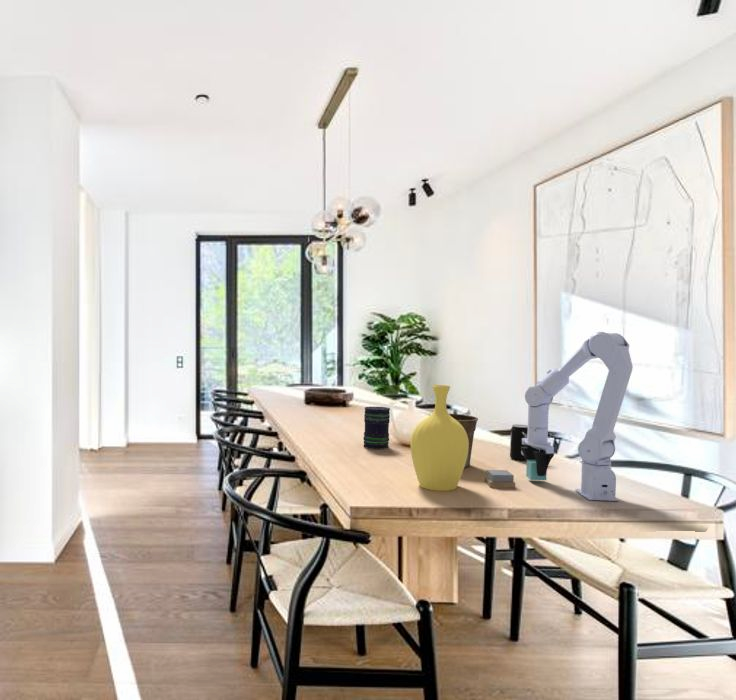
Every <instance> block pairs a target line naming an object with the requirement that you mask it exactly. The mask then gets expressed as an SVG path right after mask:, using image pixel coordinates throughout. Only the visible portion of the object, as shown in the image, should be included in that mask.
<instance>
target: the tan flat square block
mask: <svg viewBox="0 0 736 700" xmlns="http://www.w3.org/2000/svg"><path fill="white" fill-rule="evenodd" d="M484 482H485V483H486V485H487V486H488V487H489V488H493V489H494V488H495V489H516V482H515V481H513V482H492V481H491V480H490V479H488V478H487V477H486V475H485V476H484Z"/></svg>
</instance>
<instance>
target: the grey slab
mask: <svg viewBox="0 0 736 700" xmlns="http://www.w3.org/2000/svg"><path fill="white" fill-rule="evenodd" d="M485 476H486V477H487V478H488V479H490V480H491V481H492V482H514V476H515V475H514V474H513V473H511V472H510V471H508V470H507V469H486V475H485Z"/></svg>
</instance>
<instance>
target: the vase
mask: <svg viewBox="0 0 736 700" xmlns="http://www.w3.org/2000/svg"><path fill="white" fill-rule="evenodd" d="M432 389H433V392H434V394H435V404H434V405H435V406H434V410H433V412H432V413H430V414H431V415H430V414H429V415H428V416H426V417H424V418H423V419H422V420H421V421H419V423H418V424H417V425H416V426H415V428H414V429H413V432H412V433H411V437H410V453H411V459H412V463H413V467H414V472H415V475H416V479H417V482H418V484H419V486H420V487H421V488H422V489H426V490H429V491H437V492H438V491H439V492H449V491H454V490H456V489H457V487H458V484H459V482H460V480H461V477H462V475H463V472H464V469H465V468H464V467H465V463H466V460H467V456H468V450H469V441H468V436H467V433H466V431H465V429H464V428H463V426H462V425H461V424H460V423H459V422H458V421H456V420H455V419H454V418H453V417H451V416H450V415H449V414H450V413H449V412H448V410H447V409H448V408H447V398H448V394H449V392H450V390H451V386H450V385H442V384H434V385H432Z"/></svg>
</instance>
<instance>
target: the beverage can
mask: <svg viewBox="0 0 736 700" xmlns="http://www.w3.org/2000/svg"><path fill="white" fill-rule="evenodd" d="M527 434H528V424H527V425H526V424H512V425H511V428H510V446H509V457H510V459H511V460H513V459H514V460H513V461H517V460H519V461H518V462H526V461H525V457H524V454H523V452H522V450H521V447H525V446H526V445H523V444H522V438H527Z"/></svg>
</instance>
